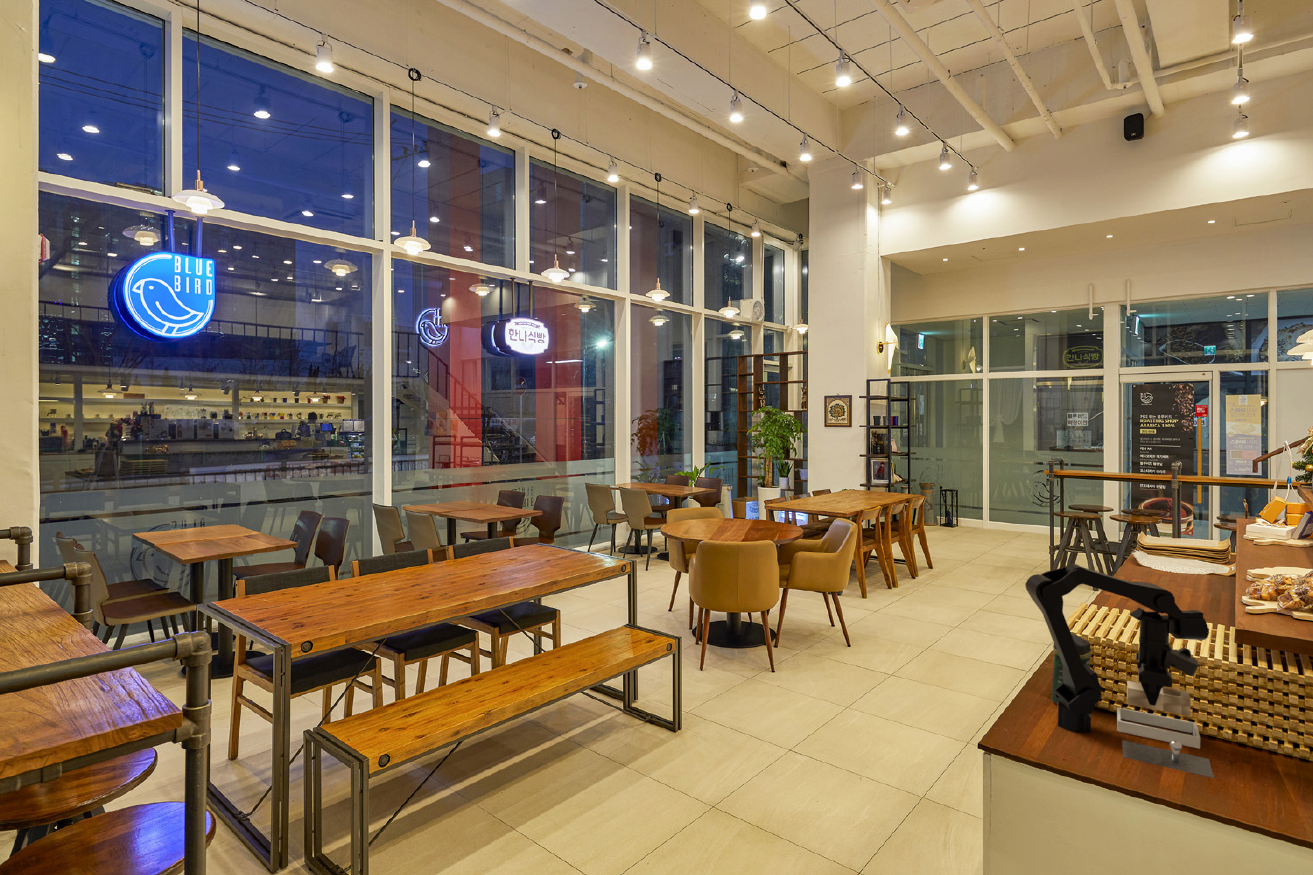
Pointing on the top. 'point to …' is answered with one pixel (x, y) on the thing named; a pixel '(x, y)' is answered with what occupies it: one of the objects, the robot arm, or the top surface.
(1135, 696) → the beige rectangular block
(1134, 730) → the tray
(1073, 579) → the robot arm
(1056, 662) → the coffee jar
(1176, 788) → the top surface
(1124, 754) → the stud base
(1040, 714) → the top surface
